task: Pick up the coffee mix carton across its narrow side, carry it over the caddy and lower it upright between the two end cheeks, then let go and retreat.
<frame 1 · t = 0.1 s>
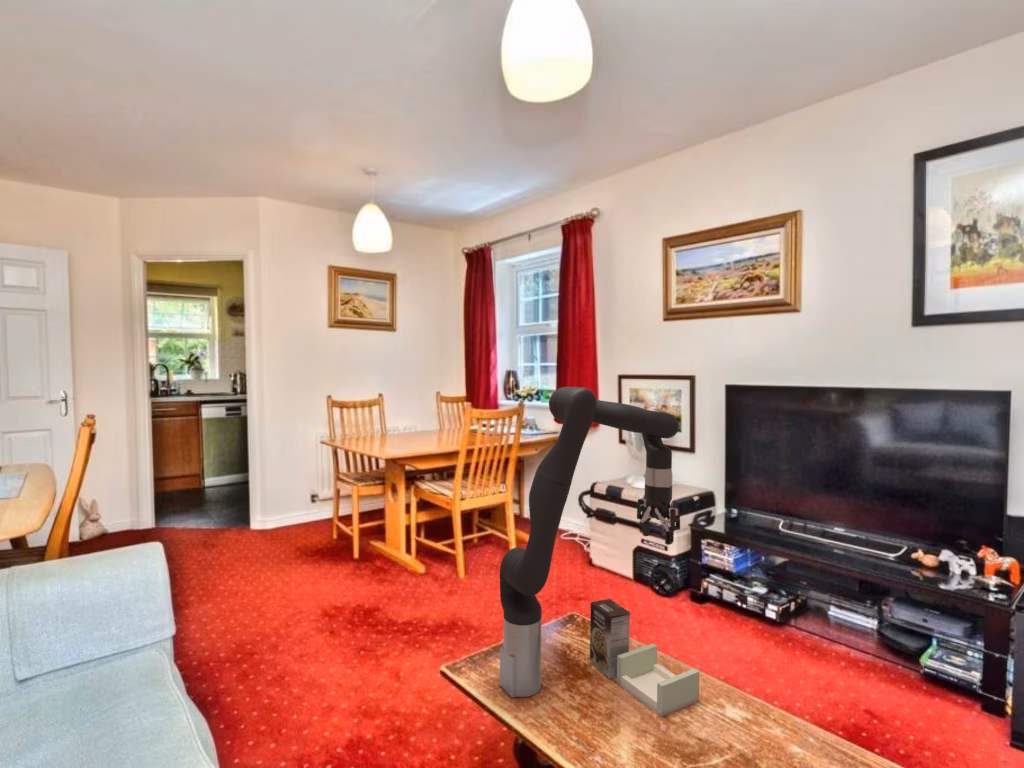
hand: (657, 539, 157), 29 cm above the table, fingers open, 8 cm apart
coffee box: (608, 668, 144), on the table
caddy: (656, 691, 133), on the table
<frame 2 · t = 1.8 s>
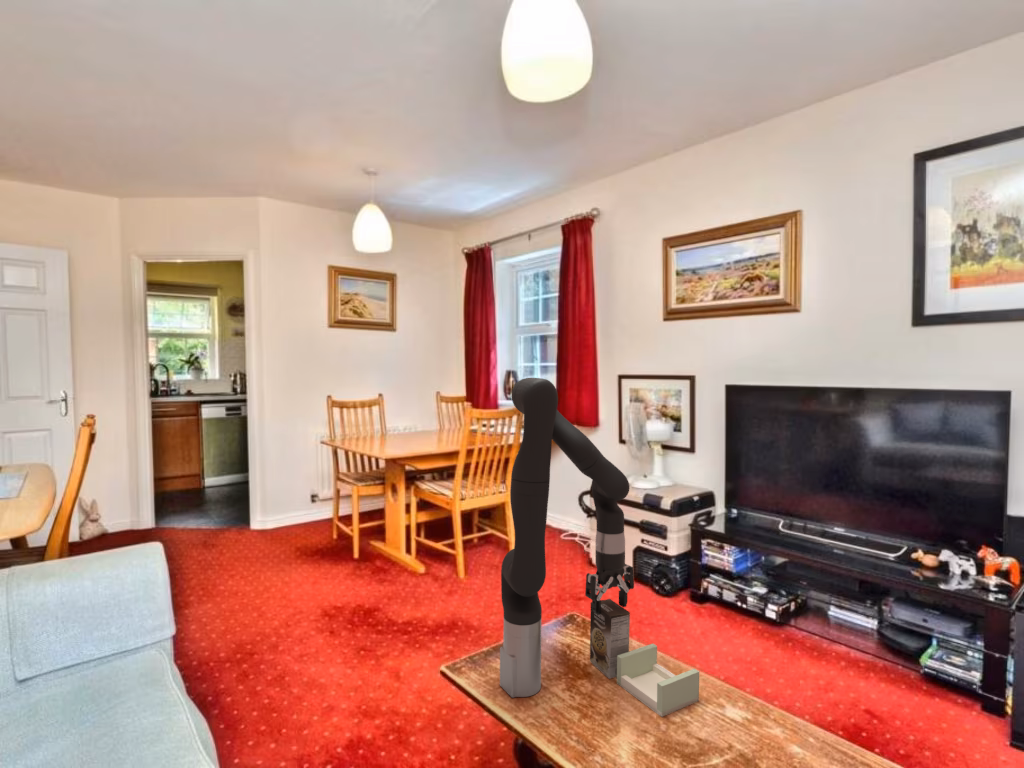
hand: (610, 609, 143), 15 cm above the table, fingers open, 8 cm apart
nothing on the table moved.
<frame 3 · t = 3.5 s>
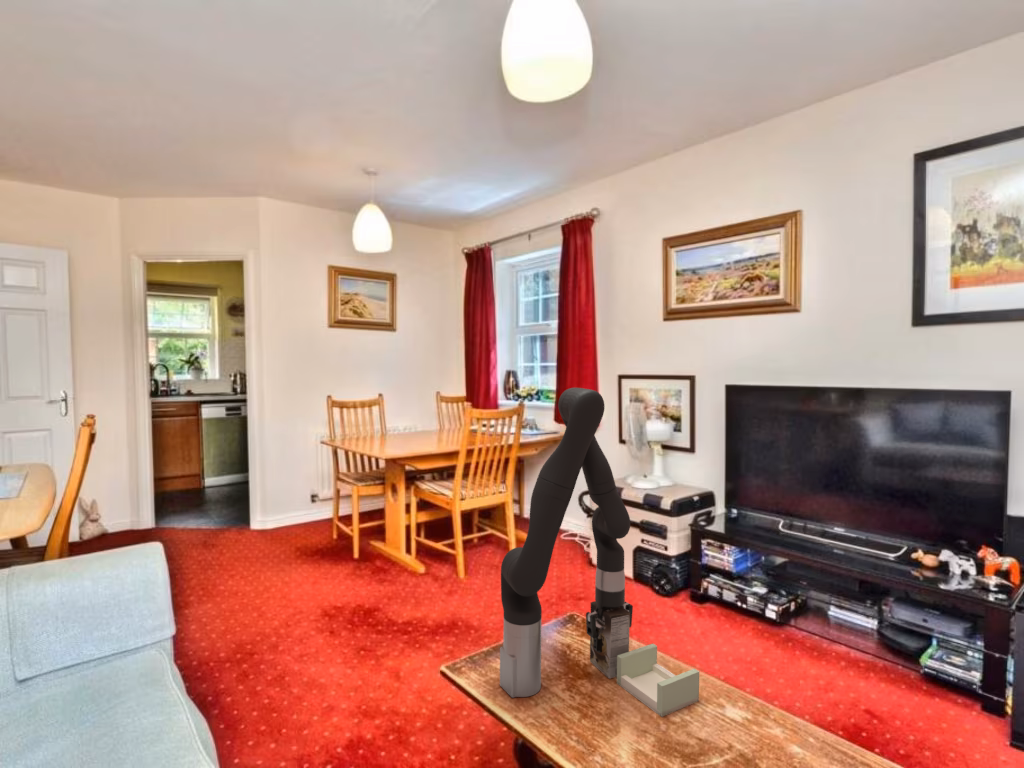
hand: (609, 647, 143), 5 cm above the table, fingers closed on coffee box, 6 cm apart
coffee box: (608, 668, 144), on the table, touching gripper
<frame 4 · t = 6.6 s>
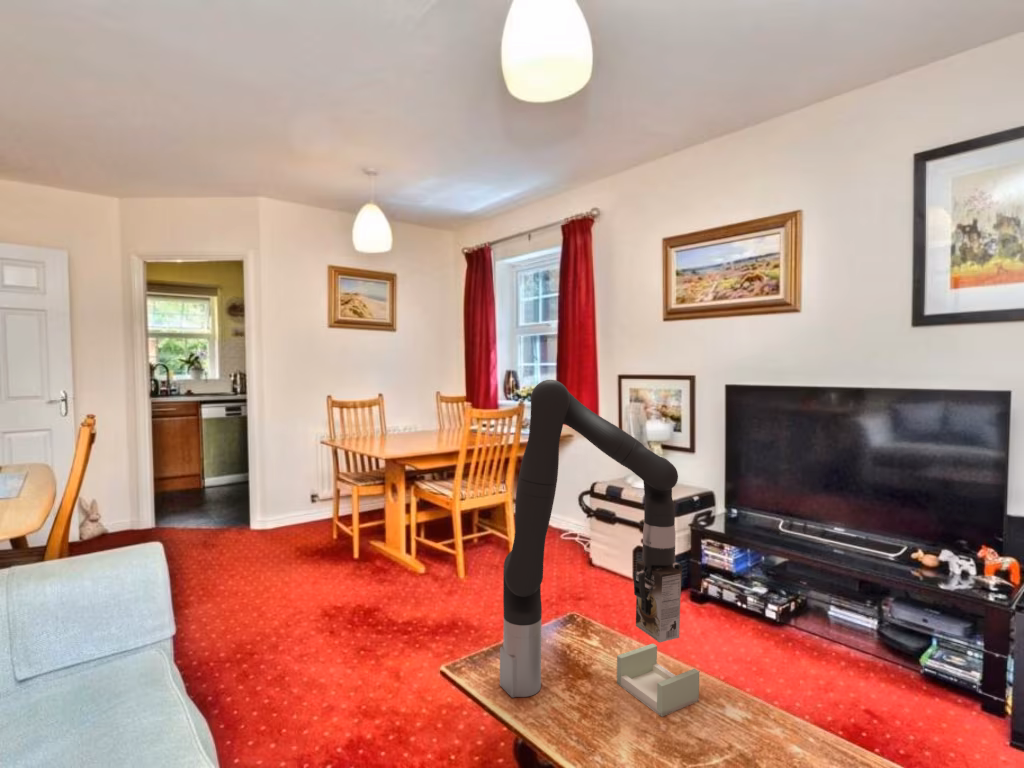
hand: (657, 610, 132), 20 cm above the table, fingers closed on coffee box, 6 cm apart
coffee box: (657, 632, 133), point 14 cm above the table, touching gripper
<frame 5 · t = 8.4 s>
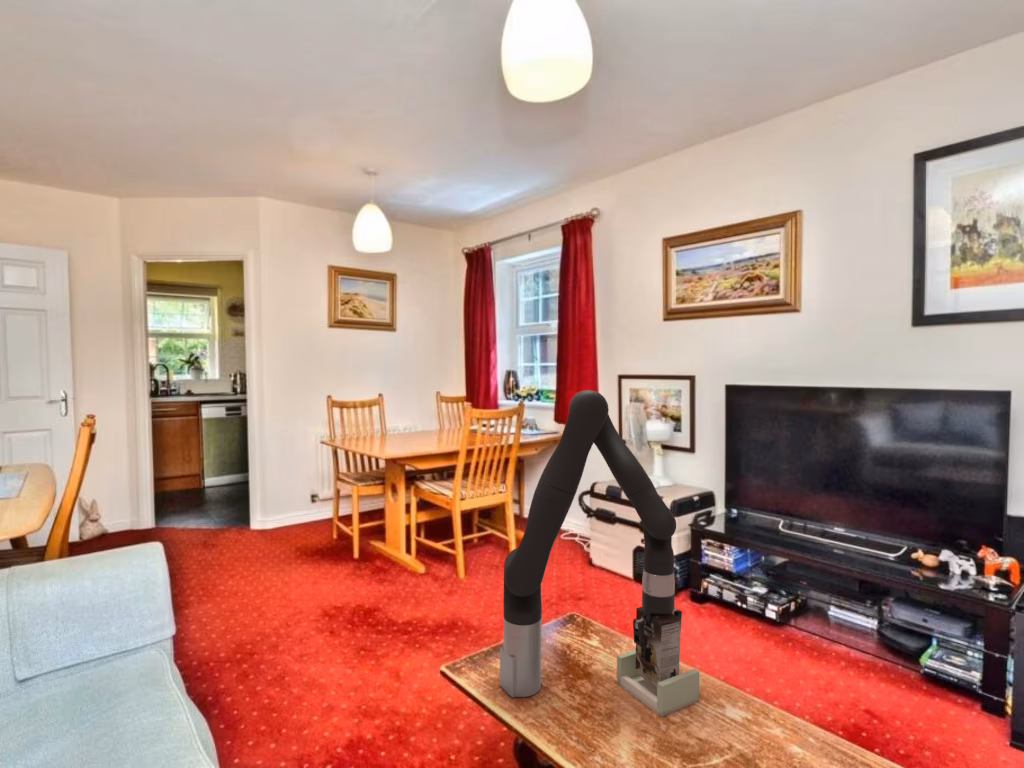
hand: (657, 657, 133), 9 cm above the table, fingers closed on coffee box, 6 cm apart
coffee box: (656, 679, 133), point 3 cm above the table, touching gripper
when the fingers open (8 cm above the table, at t = 10.0 s): coffee box drops 1 cm, resting on caddy.
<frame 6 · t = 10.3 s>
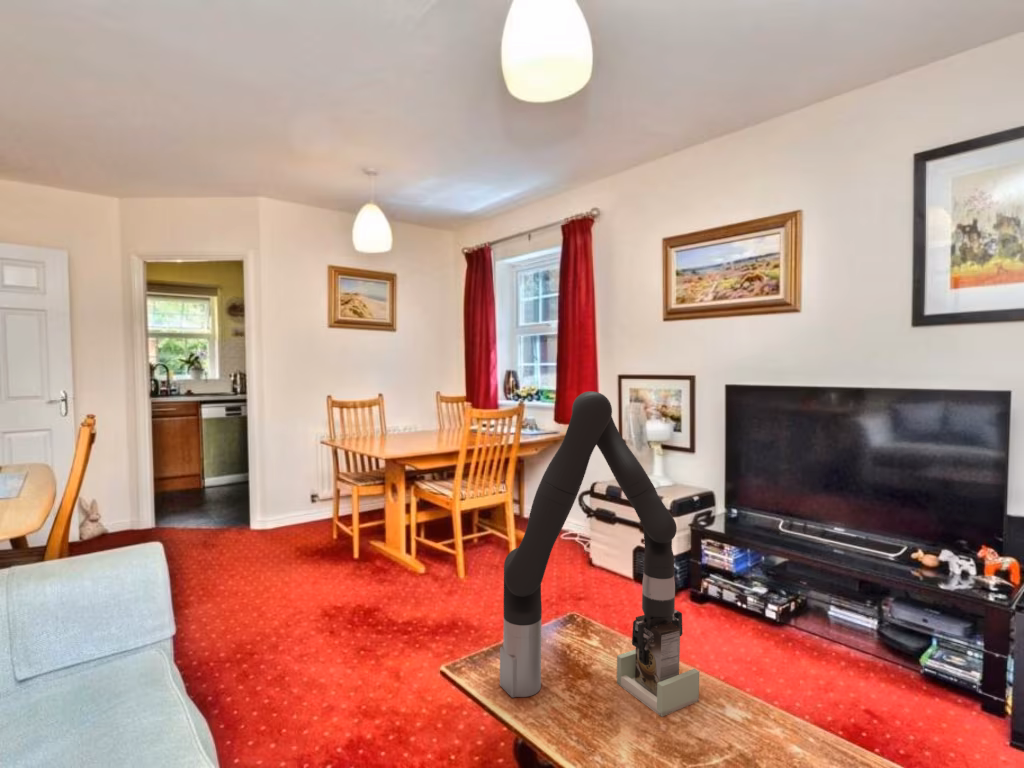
hand: (657, 658, 133), 8 cm above the table, fingers open, 8 cm apart
coffee box: (656, 688, 133), point 1 cm above the table, touching caddy
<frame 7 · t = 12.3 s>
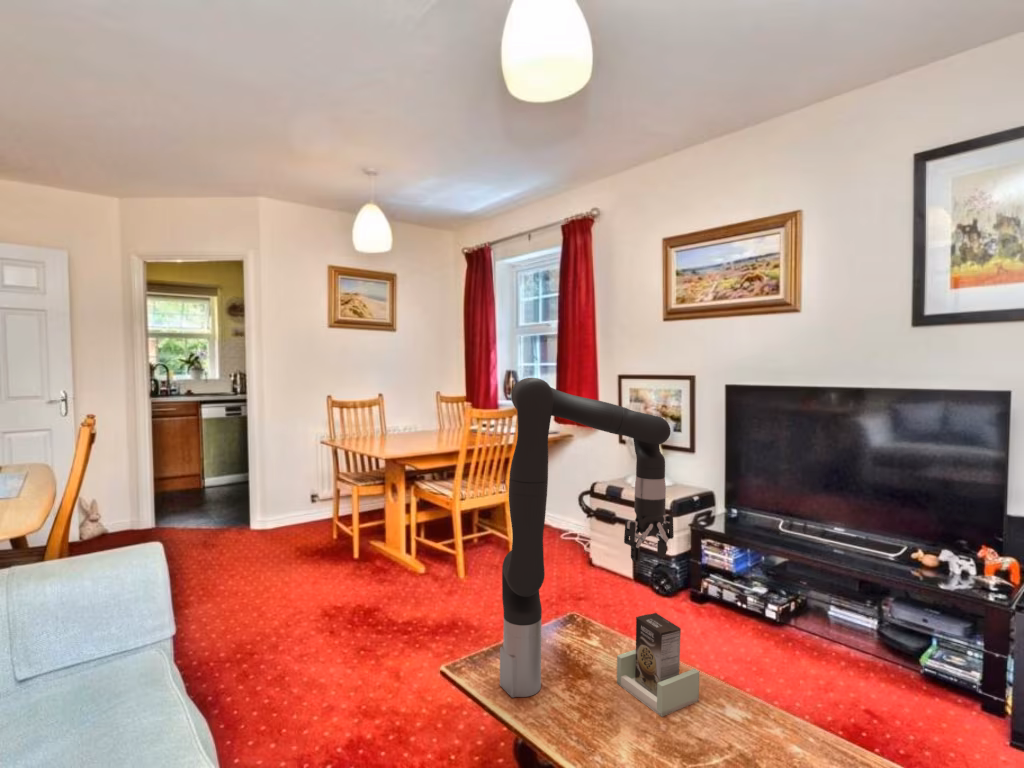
hand: (648, 558, 139), 30 cm above the table, fingers open, 8 cm apart
nothing on the table moved.
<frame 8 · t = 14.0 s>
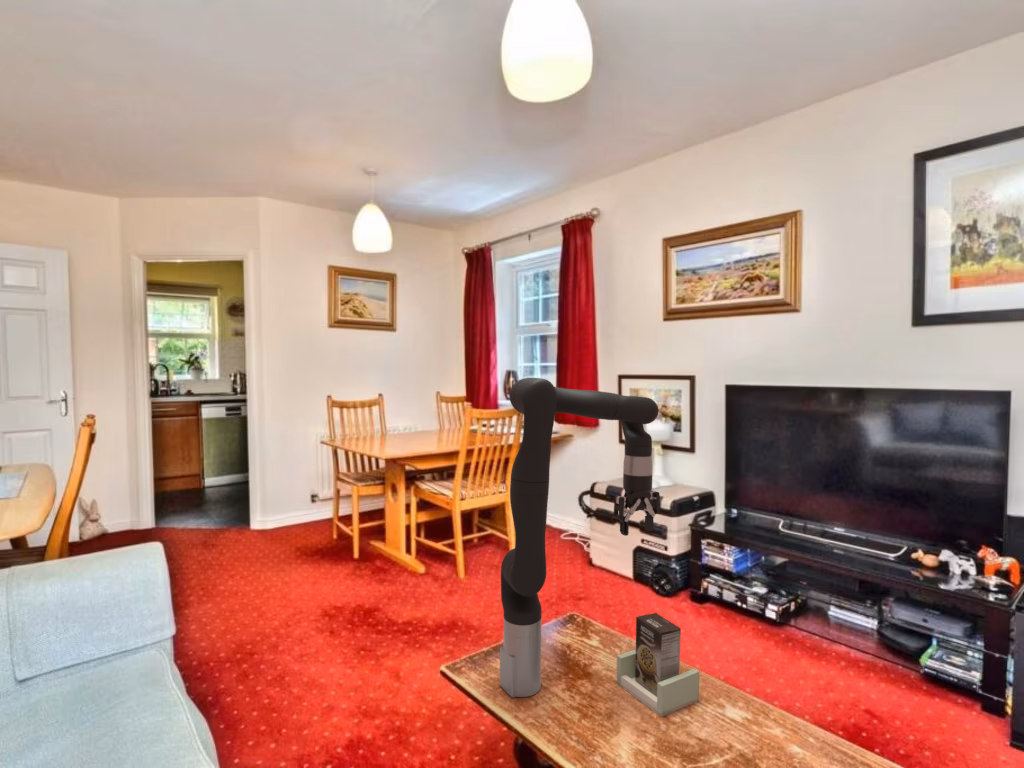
hand: (636, 532, 147), 34 cm above the table, fingers open, 8 cm apart
nothing on the table moved.
at the end: coffee box inside the target area on the caddy (0.1 cm from its centre), point 0.8 cm above the caddy's base; coffee box tilted 0°; the gripper is holding nothing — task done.
